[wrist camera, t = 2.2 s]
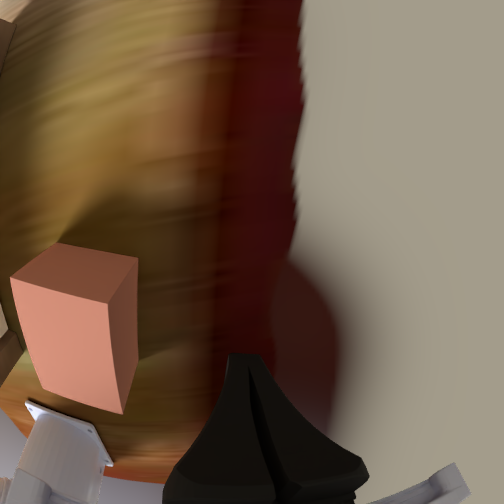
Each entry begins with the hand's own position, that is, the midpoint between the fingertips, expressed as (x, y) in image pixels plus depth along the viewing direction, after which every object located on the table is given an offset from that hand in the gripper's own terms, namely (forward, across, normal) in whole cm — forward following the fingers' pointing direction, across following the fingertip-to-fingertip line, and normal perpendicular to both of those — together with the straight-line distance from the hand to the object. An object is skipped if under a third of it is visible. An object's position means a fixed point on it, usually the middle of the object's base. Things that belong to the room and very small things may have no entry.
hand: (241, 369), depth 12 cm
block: (+4, +8, 0) cm, 9 cm away
